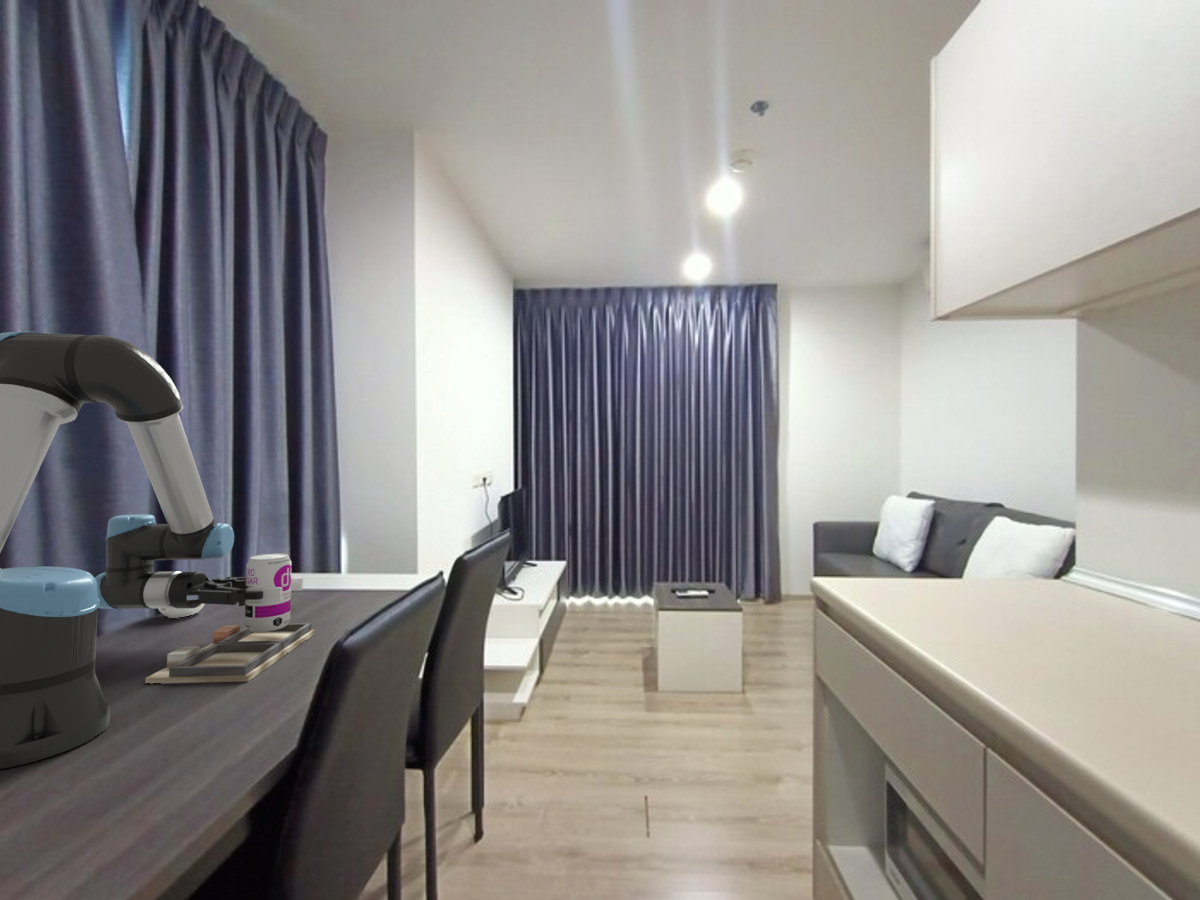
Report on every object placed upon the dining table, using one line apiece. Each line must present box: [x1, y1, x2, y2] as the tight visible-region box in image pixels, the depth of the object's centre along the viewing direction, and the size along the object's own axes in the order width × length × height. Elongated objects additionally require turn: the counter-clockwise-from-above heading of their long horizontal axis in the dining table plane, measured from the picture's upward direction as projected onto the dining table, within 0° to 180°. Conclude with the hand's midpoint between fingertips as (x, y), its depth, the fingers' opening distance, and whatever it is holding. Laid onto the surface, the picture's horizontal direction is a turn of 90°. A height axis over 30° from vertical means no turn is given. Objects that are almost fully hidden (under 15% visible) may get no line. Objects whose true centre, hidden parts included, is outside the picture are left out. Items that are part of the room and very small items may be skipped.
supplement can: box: [244, 553, 293, 632], centre depth 112 cm, size 8×8×15 cm
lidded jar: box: [157, 604, 206, 619], centre depth 132 cm, size 11×11×9 cm
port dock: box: [144, 622, 316, 685], centre depth 105 cm, size 26×17×4 cm, turn 5°
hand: (291, 588), depth 112 cm, fingers closed on supplement can, 8 cm apart
